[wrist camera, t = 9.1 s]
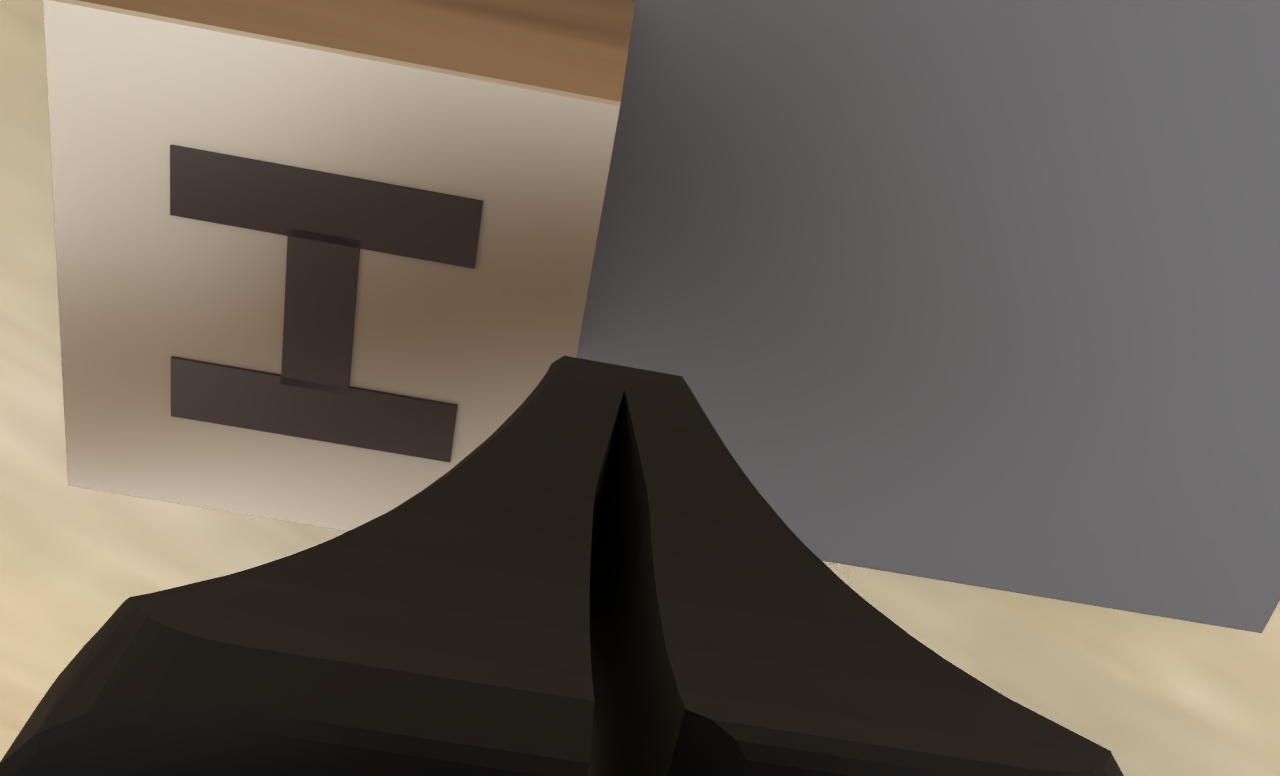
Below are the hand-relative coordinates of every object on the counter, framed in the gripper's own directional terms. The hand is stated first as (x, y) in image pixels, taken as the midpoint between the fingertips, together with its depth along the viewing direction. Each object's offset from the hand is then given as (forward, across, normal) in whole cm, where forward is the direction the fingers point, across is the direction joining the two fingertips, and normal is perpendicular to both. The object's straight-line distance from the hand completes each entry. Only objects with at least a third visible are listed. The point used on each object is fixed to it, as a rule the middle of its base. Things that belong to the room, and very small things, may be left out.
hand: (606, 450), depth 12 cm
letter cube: (+2, +4, 0) cm, 4 cm away
